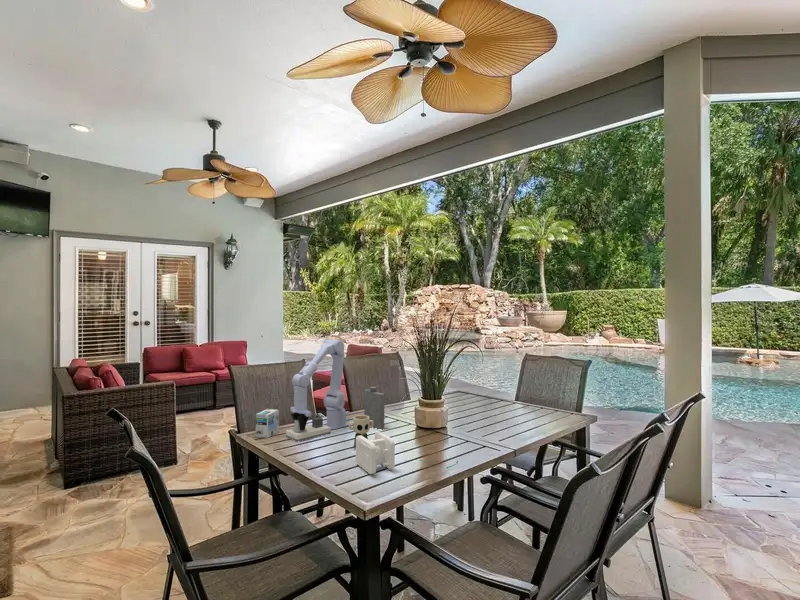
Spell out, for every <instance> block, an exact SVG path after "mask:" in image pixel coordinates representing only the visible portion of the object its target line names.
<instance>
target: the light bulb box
mask: <svg viewBox="0 0 800 600" xmlns="http://www.w3.org/2000/svg"><path fill="white" fill-rule="evenodd" d="M279 415H280V410H279V409H273V408H266V409H264V410H262V411H259V412H257V413H255V438H266V439H269V438H270V437H272V436H274V435H275V433H276V434H278V433H279V427H280V426H279V425H280V419H279V418H280V416H279Z"/></svg>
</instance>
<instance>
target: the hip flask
mask: <svg viewBox="0 0 800 600" xmlns="http://www.w3.org/2000/svg"><path fill="white" fill-rule="evenodd" d="M377 388H378V387H377V386H369V388H365V389H364V396H363V397H364V398H363V399H364V400H363V401H364V402H363V403H364V407H363V411H364V412H363V413H364V414H363V415H366V416H369V418H370V420H373V428H372V429H375V428H377V429H376V430H378V429H384V430H385V393H384V392H383V393H382V392H379V391H377ZM369 426H371V422H369Z"/></svg>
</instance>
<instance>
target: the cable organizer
mask: <svg viewBox="0 0 800 600" xmlns="http://www.w3.org/2000/svg"><path fill="white" fill-rule="evenodd" d="M395 444H396V443H395V440H394V439H393V438H391V437H390V436H388V435H386V434H384V433H383V432H381V431H377V432H375V434H374V439H372V440H371V439H370V440H369V439H366V438H365V437H363V436H362V435H360V436H357V437H356V447H355V462H356V463H357V465H358V466H359V467H360V468H361V467H362V468H361V469H363V470H364V471H365V472H366V471H367V472H368V474H369V475H373V474H376V473H377V469H378V465H382V468H386V467H387V468H388V469H391V470H392V469H395V465H396V464H395V461H396V460H395V459H396V458H395V457H396V454H395V452H396V451H395V450H396V449H395V446H396V445H395ZM387 468H386V469H387ZM388 469H387V470H388ZM367 472H366V473H367Z"/></svg>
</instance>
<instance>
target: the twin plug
mask: <svg viewBox="0 0 800 600" xmlns="http://www.w3.org/2000/svg"><path fill="white" fill-rule="evenodd" d="M323 423H324V418H323V417H320V416H317V417H314V418H312V419H311V425H312V427H314V428H319V427H323V425H324V424H323Z"/></svg>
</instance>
